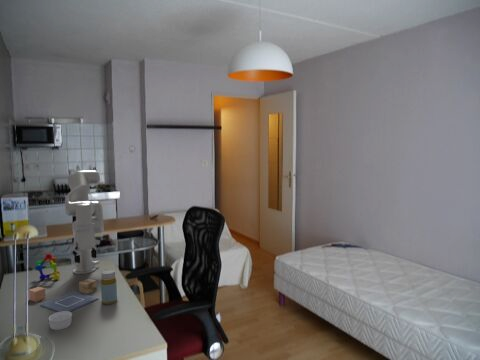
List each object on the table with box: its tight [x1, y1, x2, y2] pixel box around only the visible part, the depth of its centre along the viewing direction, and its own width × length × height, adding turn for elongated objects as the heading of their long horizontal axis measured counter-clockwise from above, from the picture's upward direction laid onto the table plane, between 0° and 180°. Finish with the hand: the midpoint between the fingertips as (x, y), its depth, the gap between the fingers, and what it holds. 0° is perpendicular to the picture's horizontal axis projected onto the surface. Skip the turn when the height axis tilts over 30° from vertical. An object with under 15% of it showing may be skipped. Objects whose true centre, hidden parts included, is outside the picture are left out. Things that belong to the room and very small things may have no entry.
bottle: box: [100, 269, 118, 305], centre depth 173 cm, size 7×7×15 cm
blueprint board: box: [40, 290, 99, 313], centre depth 173 cm, size 18×18×1 cm
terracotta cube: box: [28, 286, 46, 303], centre depth 177 cm, size 5×5×5 cm
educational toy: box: [35, 253, 60, 281], centre depth 203 cm, size 16×13×15 cm
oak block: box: [78, 278, 98, 295], centre depth 187 cm, size 6×6×5 cm
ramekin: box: [48, 311, 73, 331], centre depth 150 cm, size 9×9×4 cm
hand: (85, 260), depth 186 cm, fingers open, 9 cm apart
